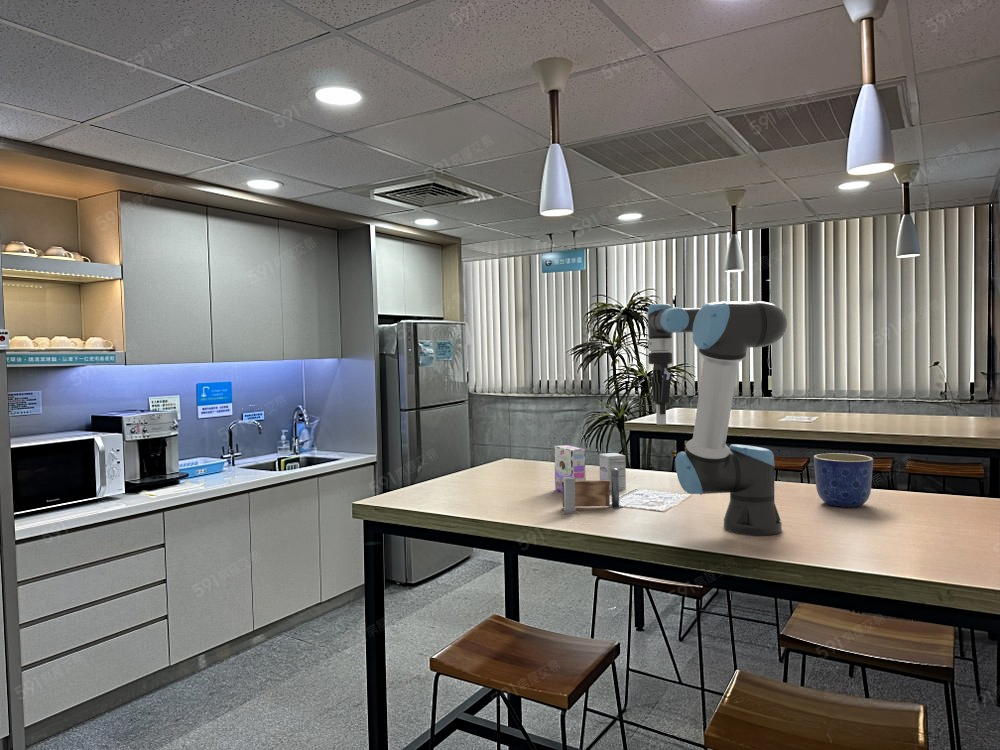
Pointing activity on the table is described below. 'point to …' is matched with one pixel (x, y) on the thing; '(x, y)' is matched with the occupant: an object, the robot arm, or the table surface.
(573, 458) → the candy box
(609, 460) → the supplement box
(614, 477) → the hinge post
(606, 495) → the gate
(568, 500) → the stile
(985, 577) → the table surface
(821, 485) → the planter
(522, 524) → the table surface
